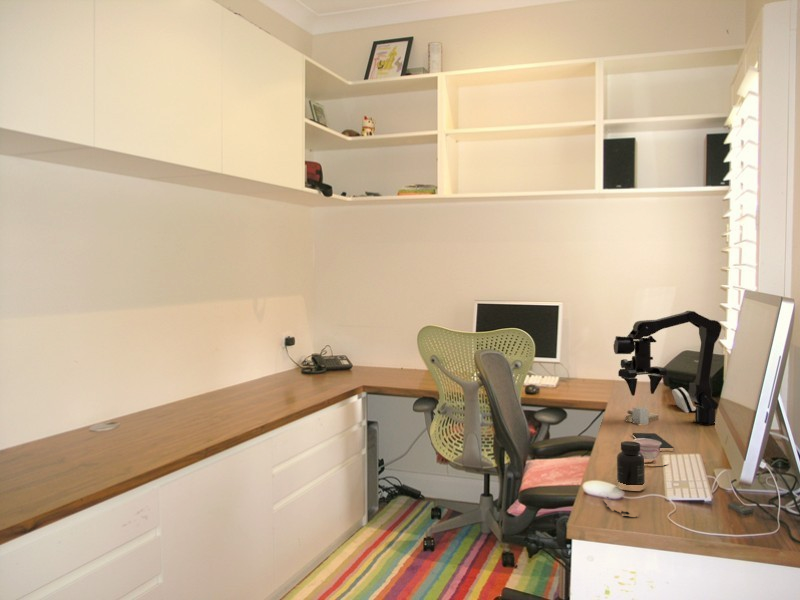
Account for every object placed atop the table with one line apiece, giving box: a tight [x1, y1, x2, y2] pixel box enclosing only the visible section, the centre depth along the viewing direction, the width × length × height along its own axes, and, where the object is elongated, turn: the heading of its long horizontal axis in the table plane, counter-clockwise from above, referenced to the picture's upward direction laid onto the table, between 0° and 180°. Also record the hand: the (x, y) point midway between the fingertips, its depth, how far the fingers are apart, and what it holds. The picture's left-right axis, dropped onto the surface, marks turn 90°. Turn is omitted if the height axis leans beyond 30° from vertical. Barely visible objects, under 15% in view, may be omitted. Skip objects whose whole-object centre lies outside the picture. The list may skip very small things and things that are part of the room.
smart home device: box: [632, 432, 675, 449], centre depth 214 cm, size 8×2×20 cm
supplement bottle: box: [616, 440, 646, 485], centre depth 168 cm, size 7×7×12 cm
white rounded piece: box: [671, 387, 696, 414], centre depth 271 cm, size 17×5×10 cm, turn 169°
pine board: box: [624, 412, 659, 423], centre depth 249 cm, size 4×13×2 cm, turn 111°
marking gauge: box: [627, 406, 649, 425], centre depth 246 cm, size 8×4×6 cm, turn 21°
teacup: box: [632, 438, 662, 459], centre depth 193 cm, size 12×12×6 cm
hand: (642, 394), depth 244 cm, fingers open, 9 cm apart
